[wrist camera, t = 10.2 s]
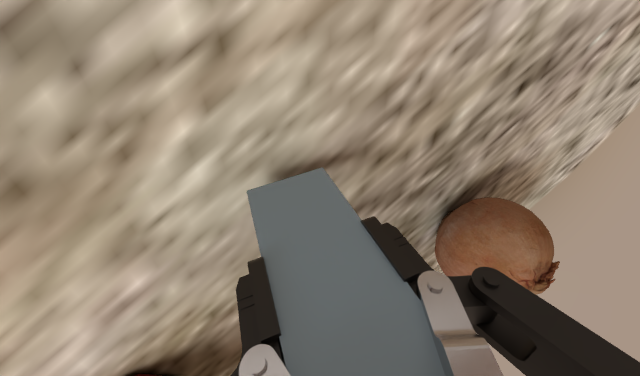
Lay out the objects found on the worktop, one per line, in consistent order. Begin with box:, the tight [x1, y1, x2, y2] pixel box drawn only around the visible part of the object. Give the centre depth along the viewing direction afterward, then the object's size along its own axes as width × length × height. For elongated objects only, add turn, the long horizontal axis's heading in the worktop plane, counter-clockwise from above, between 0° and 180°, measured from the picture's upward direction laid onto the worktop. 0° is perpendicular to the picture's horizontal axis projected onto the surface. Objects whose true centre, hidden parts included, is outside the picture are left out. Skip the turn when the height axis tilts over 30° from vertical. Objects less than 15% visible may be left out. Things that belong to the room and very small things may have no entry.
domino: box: [247, 167, 446, 376], centre depth 12 cm, size 2×5×12 cm, turn 98°
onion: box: [435, 197, 560, 295], centre depth 24 cm, size 10×9×10 cm
